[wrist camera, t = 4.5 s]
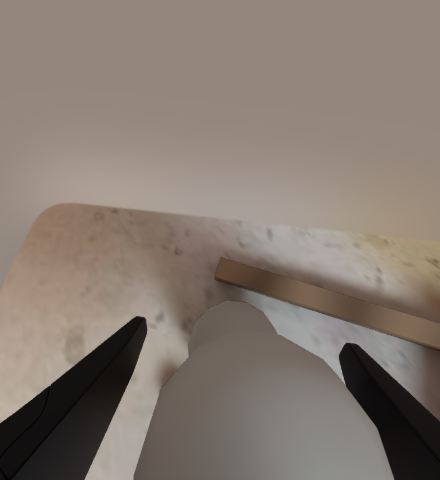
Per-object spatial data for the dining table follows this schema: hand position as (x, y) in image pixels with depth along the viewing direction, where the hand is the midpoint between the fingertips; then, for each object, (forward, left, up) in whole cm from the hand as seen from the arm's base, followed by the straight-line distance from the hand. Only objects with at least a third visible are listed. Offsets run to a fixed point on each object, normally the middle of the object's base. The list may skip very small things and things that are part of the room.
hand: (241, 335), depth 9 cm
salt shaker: (-1, -1, -7) cm, 7 cm away
